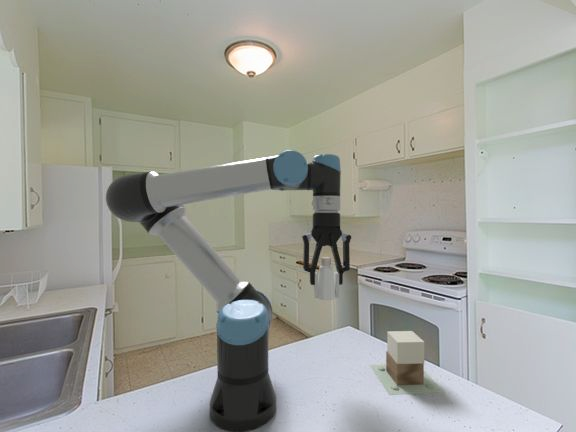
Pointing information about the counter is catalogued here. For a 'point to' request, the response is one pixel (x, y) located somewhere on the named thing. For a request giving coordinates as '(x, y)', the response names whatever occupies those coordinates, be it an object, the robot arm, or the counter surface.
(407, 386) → the base plate
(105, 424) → the counter surface
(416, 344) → the brick
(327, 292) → the pepper shaker
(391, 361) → the brick
